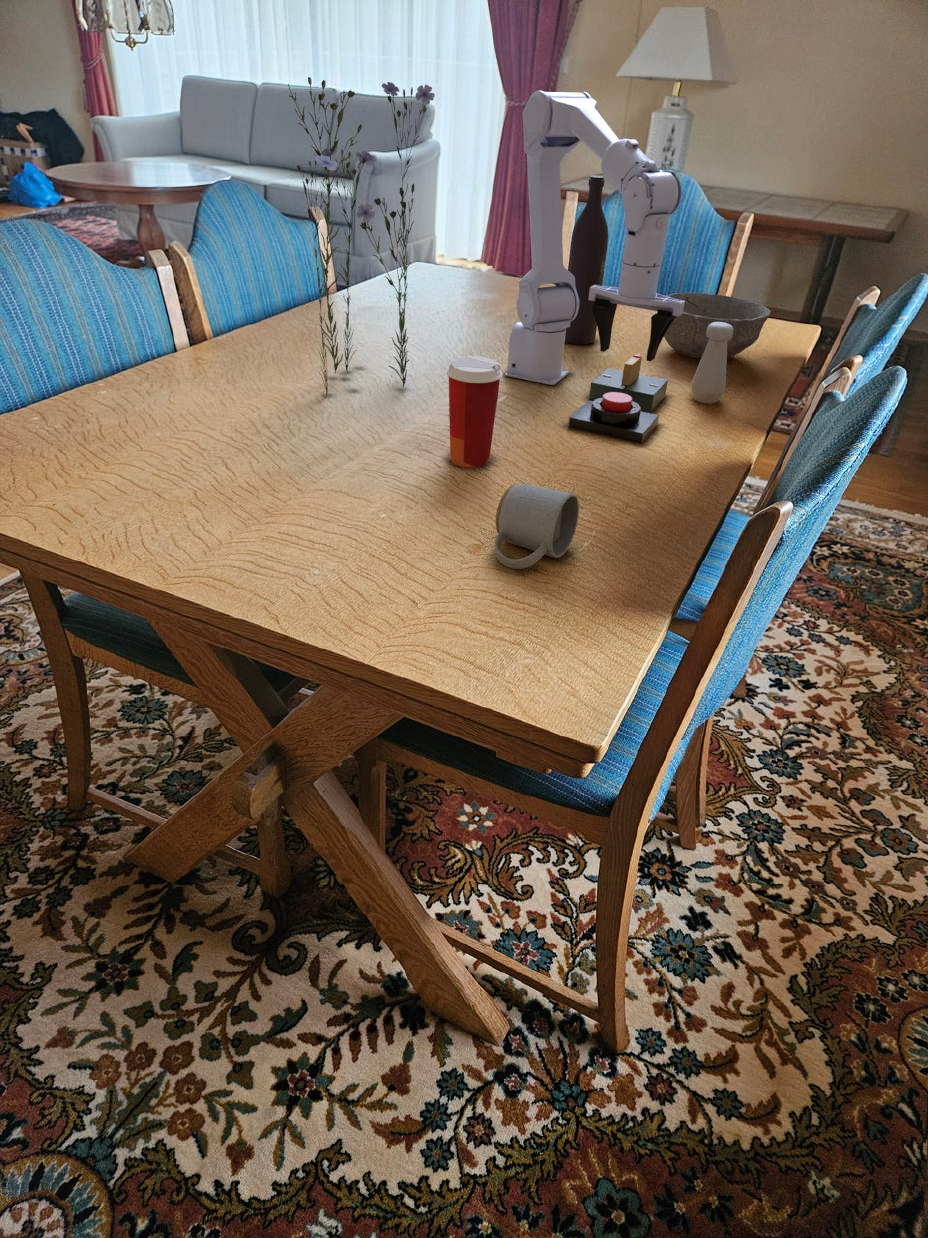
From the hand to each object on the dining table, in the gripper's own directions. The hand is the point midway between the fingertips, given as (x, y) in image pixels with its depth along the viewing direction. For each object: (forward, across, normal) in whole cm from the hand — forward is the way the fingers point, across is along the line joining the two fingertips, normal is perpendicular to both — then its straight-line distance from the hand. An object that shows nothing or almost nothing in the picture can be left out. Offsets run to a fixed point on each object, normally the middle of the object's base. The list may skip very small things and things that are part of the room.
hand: (627, 354), depth 135 cm
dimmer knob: (+7, +2, -10) cm, 13 cm away
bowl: (+11, -2, -42) cm, 44 cm away
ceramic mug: (+11, -7, +48) cm, 49 cm away
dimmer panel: (+10, +2, -10) cm, 15 cm away
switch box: (+10, -1, +4) cm, 11 cm away
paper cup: (+11, +12, +29) cm, 33 cm away
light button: (+7, -1, +4) cm, 8 cm away
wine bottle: (+11, +23, -36) cm, 44 cm away
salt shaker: (+11, -10, -18) cm, 23 cm away
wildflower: (+11, +42, +11) cm, 45 cm away
